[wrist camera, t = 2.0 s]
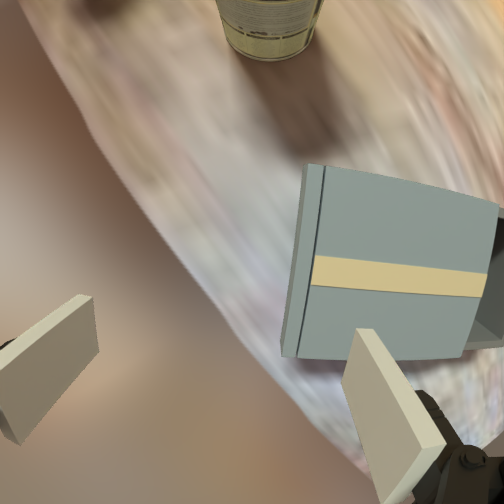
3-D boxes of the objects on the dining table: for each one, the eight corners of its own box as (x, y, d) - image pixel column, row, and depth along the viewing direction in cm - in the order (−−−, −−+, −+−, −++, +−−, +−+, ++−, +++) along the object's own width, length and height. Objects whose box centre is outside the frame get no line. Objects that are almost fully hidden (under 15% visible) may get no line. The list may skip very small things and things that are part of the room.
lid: (482, 201, 25) (500, 204, 22) (448, 344, 29) (460, 358, 26) (303, 165, 25) (308, 163, 22) (280, 340, 29) (281, 357, 26)
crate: (497, 210, 31) (536, 219, 23) (472, 321, 35) (503, 346, 27) (388, 184, 31) (422, 187, 23) (364, 319, 35) (386, 352, 27)
